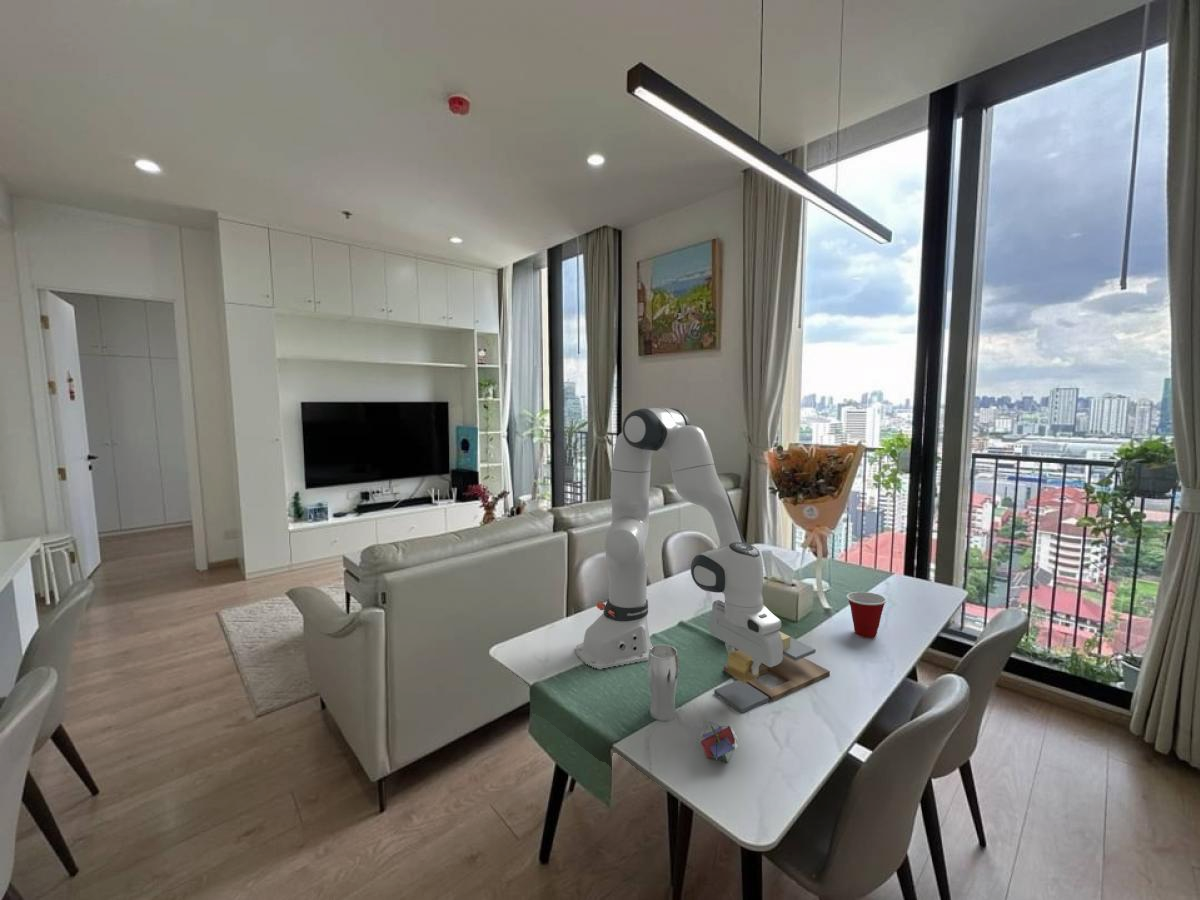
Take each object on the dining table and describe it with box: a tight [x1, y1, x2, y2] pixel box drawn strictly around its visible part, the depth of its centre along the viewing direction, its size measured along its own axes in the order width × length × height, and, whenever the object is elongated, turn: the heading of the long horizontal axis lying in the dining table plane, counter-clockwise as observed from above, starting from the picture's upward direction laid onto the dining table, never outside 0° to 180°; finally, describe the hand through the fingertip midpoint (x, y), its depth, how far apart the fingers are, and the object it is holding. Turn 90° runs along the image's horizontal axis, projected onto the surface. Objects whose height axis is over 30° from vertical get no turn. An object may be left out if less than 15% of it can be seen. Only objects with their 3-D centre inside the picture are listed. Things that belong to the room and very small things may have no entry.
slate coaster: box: [713, 679, 770, 714], centre depth 119 cm, size 9×9×1 cm
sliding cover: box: [778, 630, 817, 661], centre depth 133 cm, size 8×12×4 cm, turn 30°
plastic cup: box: [846, 591, 887, 639], centre depth 151 cm, size 11×11×12 cm
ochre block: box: [727, 649, 760, 683], centre depth 119 cm, size 5×5×5 cm
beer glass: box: [647, 643, 679, 722], centre depth 113 cm, size 7×7×15 cm
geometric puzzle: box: [699, 721, 739, 764], centre depth 99 cm, size 7×7×8 cm
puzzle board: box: [723, 655, 831, 702], centre depth 130 cm, size 22×16×5 cm
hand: (743, 666), depth 119 cm, fingers closed on ochre block, 5 cm apart
